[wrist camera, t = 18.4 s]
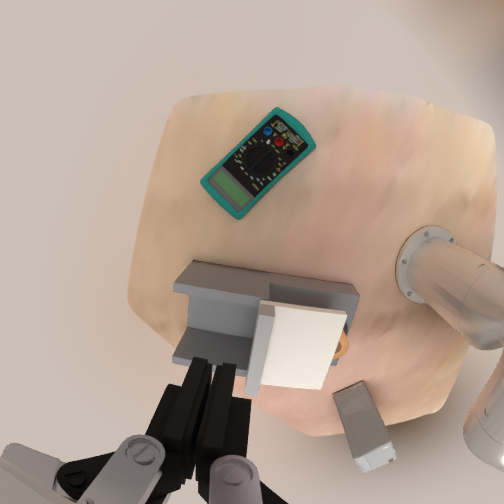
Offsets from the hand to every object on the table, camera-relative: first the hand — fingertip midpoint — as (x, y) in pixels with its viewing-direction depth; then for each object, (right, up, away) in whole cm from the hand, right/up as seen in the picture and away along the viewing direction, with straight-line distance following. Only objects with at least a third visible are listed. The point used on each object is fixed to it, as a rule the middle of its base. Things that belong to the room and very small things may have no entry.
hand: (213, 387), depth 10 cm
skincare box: (+21, -23, +35) cm, 47 cm away
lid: (+7, -6, +22) cm, 24 cm away
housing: (+3, -3, +31) cm, 31 cm away
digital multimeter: (+2, +17, +26) cm, 31 cm away
